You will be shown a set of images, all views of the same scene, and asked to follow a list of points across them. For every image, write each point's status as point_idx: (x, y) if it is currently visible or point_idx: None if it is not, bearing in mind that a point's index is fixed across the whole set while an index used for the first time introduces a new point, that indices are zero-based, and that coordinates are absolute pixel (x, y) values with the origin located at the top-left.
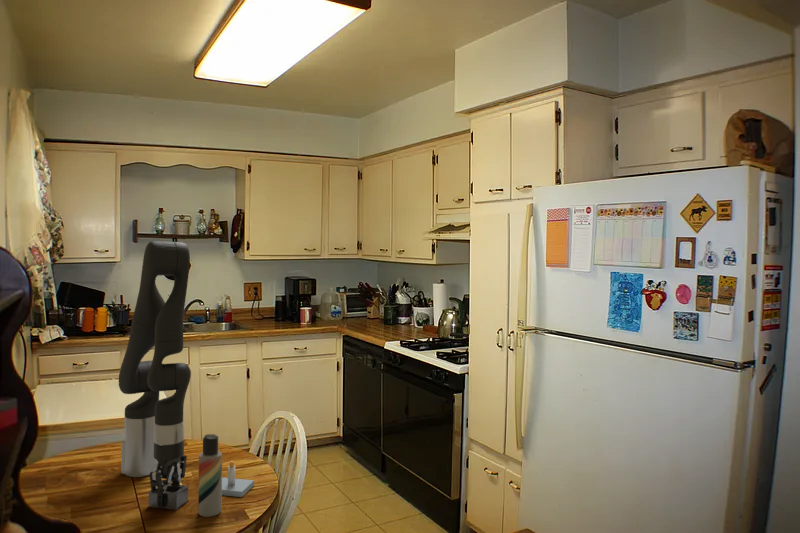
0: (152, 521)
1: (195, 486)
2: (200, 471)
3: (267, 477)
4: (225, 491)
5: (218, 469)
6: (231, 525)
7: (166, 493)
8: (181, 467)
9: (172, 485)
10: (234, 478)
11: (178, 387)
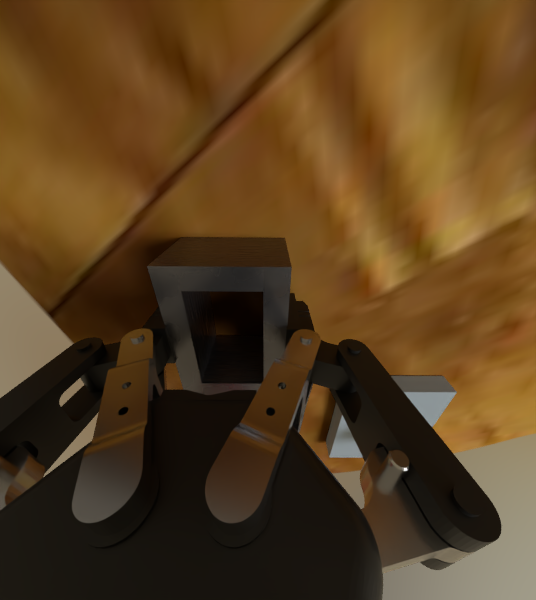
0: (92, 321)
1: (415, 315)
2: None
3: (458, 447)
4: (336, 425)
5: None
6: None
7: (173, 360)
8: (359, 434)
9: (271, 341)
10: None
11: None
